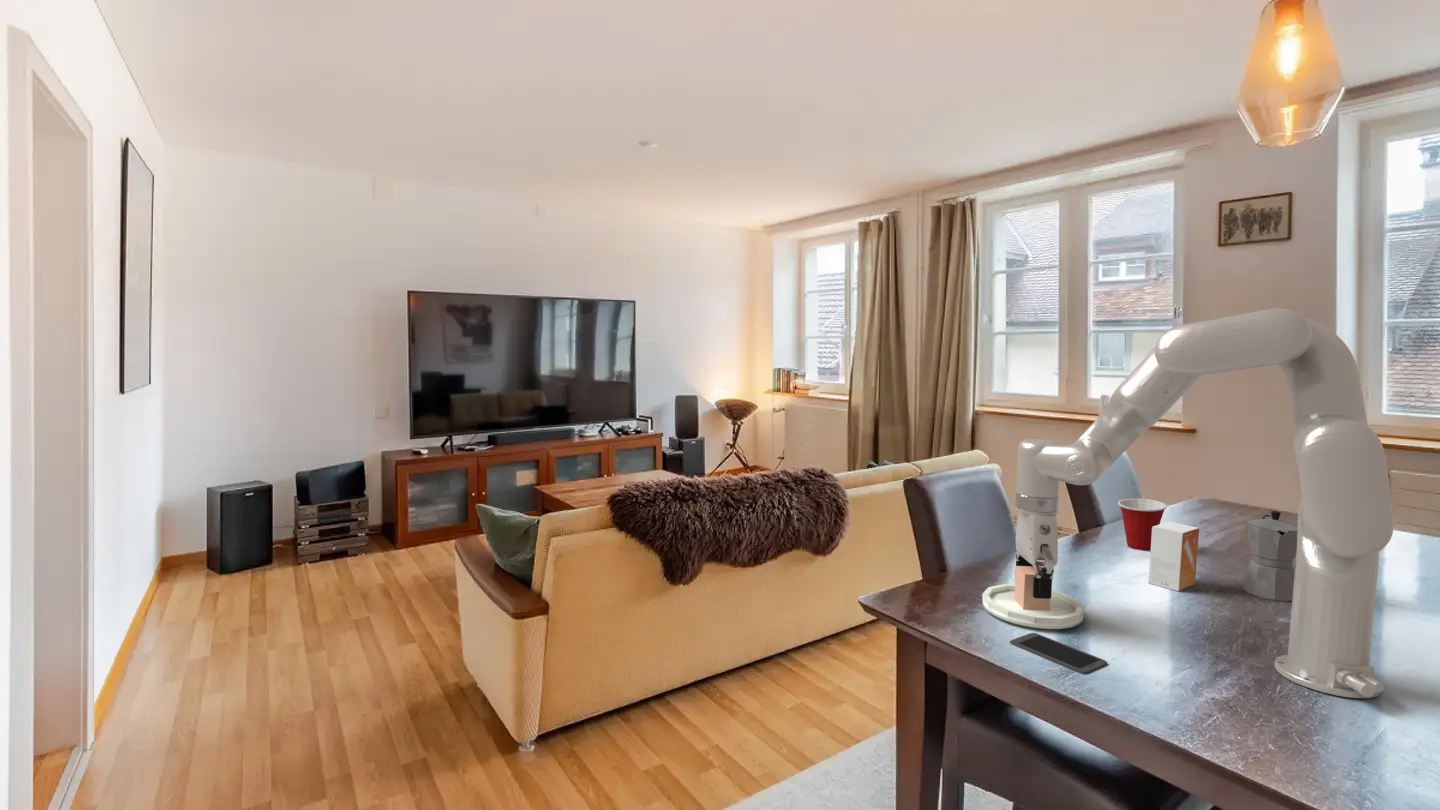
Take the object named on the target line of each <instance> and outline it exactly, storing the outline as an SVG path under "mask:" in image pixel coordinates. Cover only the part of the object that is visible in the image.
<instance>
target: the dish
mask: <svg viewBox="0 0 1440 810" xmlns="http://www.w3.org/2000/svg"><path fill="white" fill-rule="evenodd" d="M981 595H982V596H981V597H982V598H981V599H982V606H983V608H984V610H985V611H987V612H988V613H989V614H990V615H993V616H994V617H996V618H999V619H1001V620H1003V621H1006V622H1008V623H1011V624H1014V625H1015V624H1016V625H1020V626H1024V627H1028V628H1035V629H1044V630H1045V629H1047V630H1061V629H1062V630H1063V629H1070V628H1071V629H1072V628H1074V627H1077V626H1079V625H1081V623H1082V622H1083V620H1084V610H1085V609H1084V607H1085V606H1084V605H1083V604H1082V603H1080V602H1079V601H1078V600H1077V599H1076V598H1075V597H1074V596H1070V595H1068V594H1066V593H1063V592H1060V591H1058V590H1056V589H1052V592H1051V601H1050V610H1024V609H1022V608H1021V606H1020V605H1019V604H1018V603H1017V602H1016V601H1015V600H1014V599H1015V583H1014V584H1013V583H1003V584H998V585H992V586H988V587H987V588H986V589H985V590H984V592H982V594H981Z"/></svg>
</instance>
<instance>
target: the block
mask: <svg viewBox="0 0 1440 810" xmlns="http://www.w3.org/2000/svg"><path fill="white" fill-rule="evenodd" d="M1039 569H1040V570H1041V569H1042V567H1041V566H1039ZM1015 572H1016V577H1015V578H1014V579H1015V580H1014V584H1015V599H1014V600H1015V601H1016V602H1017V603H1018V604H1019V605H1020V606H1021V608H1022V609H1024V610H1050V601H1051V598H1050V599H1041V598H1034V597H1033V579H1034V577H1036V575H1035V570H1034V565H1033V566H1016V565H1015Z"/></svg>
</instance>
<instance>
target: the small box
mask: <svg viewBox="0 0 1440 810" xmlns="http://www.w3.org/2000/svg"><path fill="white" fill-rule="evenodd" d="M1199 536H1200V527H1198V526H1192V525H1187V524H1182V523H1178V522H1172V521H1166V522H1164V523H1160V524H1159V525H1156V526H1153V527H1152V537H1151V550H1150V555H1149V569H1148V581H1147V583H1148V584H1151V585H1153V586H1157V587H1161V588H1164V589H1168V590H1171V591H1172V590H1173V591H1176V592H1180V591H1182V590H1184V589H1186V588H1187V589H1188V588H1189V587H1192V586H1194V585H1195V584H1196V574H1197V562H1198V548H1199Z"/></svg>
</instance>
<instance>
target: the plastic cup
mask: <svg viewBox="0 0 1440 810" xmlns="http://www.w3.org/2000/svg"><path fill="white" fill-rule="evenodd" d="M1117 504H1118V506H1119V508H1120V511H1121V515H1122V521H1123V527H1124V533H1125V539H1126V545H1127V547H1128V548H1129V549H1134V550H1137V549H1138V551H1151V537H1152V527H1153V526H1156V525H1159V524H1161V520H1162V518H1163V514H1164V512H1165V510H1166V509H1167V504H1166V503H1164V502H1162V501H1159V500H1155V499H1150V498H1149V499H1147V498H1124V499H1121V500H1118V502H1117Z"/></svg>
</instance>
